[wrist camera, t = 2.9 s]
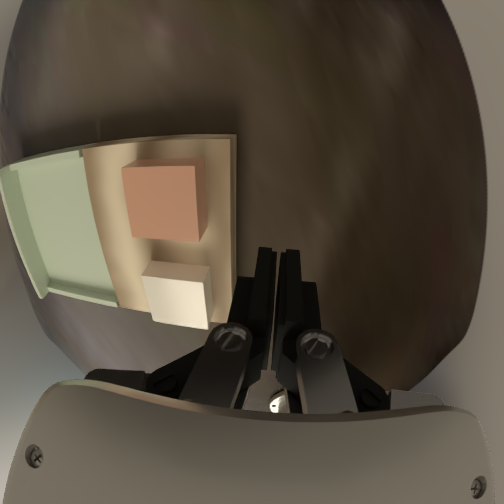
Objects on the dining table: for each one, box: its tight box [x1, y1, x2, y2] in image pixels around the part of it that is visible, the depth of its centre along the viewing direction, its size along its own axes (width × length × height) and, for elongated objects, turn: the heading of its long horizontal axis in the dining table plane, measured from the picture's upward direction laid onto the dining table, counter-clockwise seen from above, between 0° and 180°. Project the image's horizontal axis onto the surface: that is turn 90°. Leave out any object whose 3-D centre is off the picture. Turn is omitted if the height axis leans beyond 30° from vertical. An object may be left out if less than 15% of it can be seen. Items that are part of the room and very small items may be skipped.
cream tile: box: [141, 260, 214, 329], centre depth 26 cm, size 6×6×2 cm
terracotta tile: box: [121, 158, 207, 242], centre depth 20 cm, size 6×6×2 cm
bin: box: [0, 143, 120, 307], centre depth 26 cm, size 14×19×5 cm
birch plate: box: [82, 134, 237, 323], centre depth 26 cm, size 14×19×3 cm
